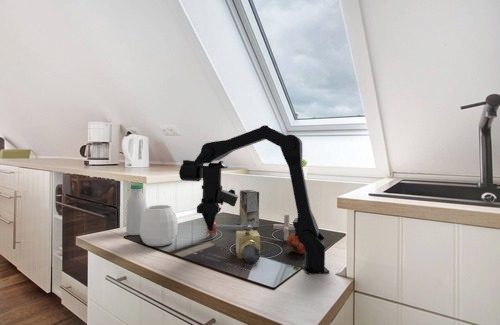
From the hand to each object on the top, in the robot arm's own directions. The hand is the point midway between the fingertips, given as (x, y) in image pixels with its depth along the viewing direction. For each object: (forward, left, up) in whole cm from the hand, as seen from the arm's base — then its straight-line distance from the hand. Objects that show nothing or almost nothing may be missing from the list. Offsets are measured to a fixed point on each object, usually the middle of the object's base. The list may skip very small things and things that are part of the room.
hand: (210, 230), depth 94 cm
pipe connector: (+15, -30, -9) cm, 35 cm away
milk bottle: (+31, +29, -9) cm, 44 cm away
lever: (+2, -6, -1) cm, 7 cm away
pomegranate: (0, -29, -9) cm, 30 cm away
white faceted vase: (+16, +18, -9) cm, 26 cm away
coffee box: (+39, -19, -9) cm, 44 cm away
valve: (+1, -12, -9) cm, 15 cm away
